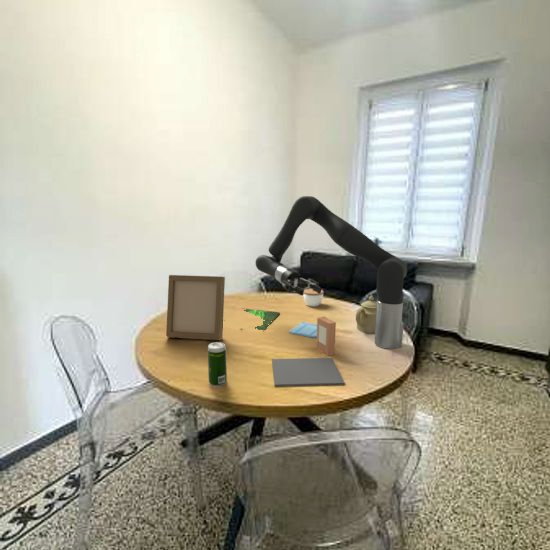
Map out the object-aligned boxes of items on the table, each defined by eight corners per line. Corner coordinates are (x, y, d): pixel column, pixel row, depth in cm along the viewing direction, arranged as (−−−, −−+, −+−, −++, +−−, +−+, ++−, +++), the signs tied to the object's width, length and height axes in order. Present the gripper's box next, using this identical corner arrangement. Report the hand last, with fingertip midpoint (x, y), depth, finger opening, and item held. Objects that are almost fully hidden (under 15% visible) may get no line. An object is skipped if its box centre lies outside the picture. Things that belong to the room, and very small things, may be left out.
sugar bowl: (381, 338, 139) (384, 302, 136) (354, 334, 142) (355, 299, 139) (383, 326, 152) (385, 293, 149) (357, 323, 156) (359, 291, 153)
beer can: (230, 382, 104) (229, 345, 102) (216, 389, 100) (214, 350, 98) (219, 376, 108) (218, 340, 105) (205, 382, 104) (203, 345, 101)
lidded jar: (312, 301, 191) (313, 284, 189) (327, 305, 183) (327, 288, 181) (298, 304, 184) (299, 287, 182) (313, 309, 176) (313, 291, 174)
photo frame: (219, 342, 134) (217, 279, 129) (166, 339, 137) (162, 277, 132) (229, 329, 148) (228, 272, 143) (181, 326, 151) (178, 270, 146)
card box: (323, 346, 130) (324, 316, 128) (334, 353, 124) (335, 322, 122) (316, 348, 129) (317, 317, 126) (327, 355, 123) (328, 323, 120)
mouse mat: (263, 333, 144) (263, 331, 144) (216, 328, 150) (215, 325, 150) (281, 313, 170) (281, 311, 170) (239, 309, 176) (239, 307, 176)
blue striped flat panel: (315, 339, 138) (315, 336, 138) (289, 334, 144) (289, 331, 144) (327, 329, 150) (327, 326, 149) (302, 324, 155) (302, 321, 155)
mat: (332, 359, 120) (332, 357, 120) (344, 384, 103) (344, 382, 103) (271, 360, 118) (271, 359, 118) (274, 386, 102) (274, 384, 102)
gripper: (274, 269, 137) (298, 284, 124) (302, 267, 145) (327, 281, 132) (272, 286, 139) (295, 303, 127) (299, 283, 147) (324, 299, 135)
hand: (311, 292), depth 130 cm, fingers open, 8 cm apart
